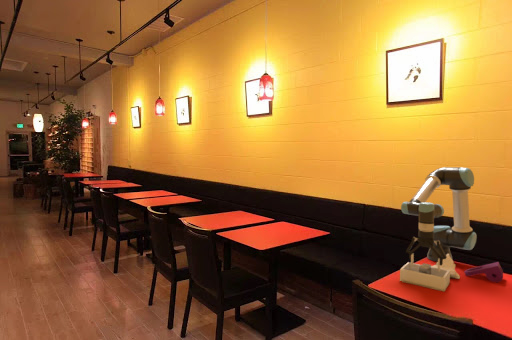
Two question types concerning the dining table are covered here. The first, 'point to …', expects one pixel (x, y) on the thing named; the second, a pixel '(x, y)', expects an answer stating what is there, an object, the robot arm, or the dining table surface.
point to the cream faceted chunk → (448, 267)
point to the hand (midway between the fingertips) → (425, 268)
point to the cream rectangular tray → (425, 277)
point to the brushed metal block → (425, 269)
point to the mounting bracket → (487, 271)
